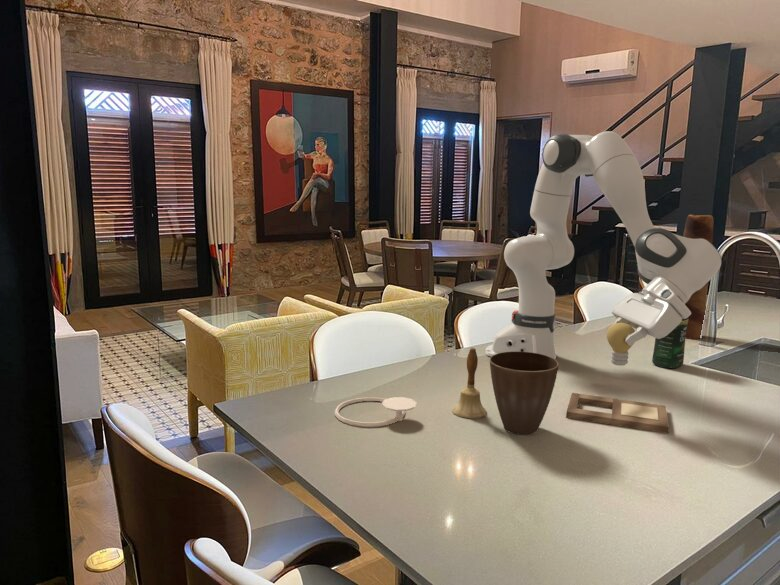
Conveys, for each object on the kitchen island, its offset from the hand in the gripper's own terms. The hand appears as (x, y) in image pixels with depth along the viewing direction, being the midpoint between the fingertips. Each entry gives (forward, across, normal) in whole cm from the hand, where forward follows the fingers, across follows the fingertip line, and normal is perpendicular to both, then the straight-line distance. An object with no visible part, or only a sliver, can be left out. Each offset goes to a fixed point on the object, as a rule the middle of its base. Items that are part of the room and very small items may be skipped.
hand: (618, 338), depth 136 cm
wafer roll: (-32, -73, +58) cm, 98 cm away
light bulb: (+4, 0, +5) cm, 6 cm away
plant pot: (+31, +7, -4) cm, 32 cm away
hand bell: (+38, -3, -11) cm, 39 cm away
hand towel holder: (+54, -3, -27) cm, 60 cm away
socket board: (+13, 0, +14) cm, 19 cm away
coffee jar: (-12, -39, +39) cm, 56 cm away
